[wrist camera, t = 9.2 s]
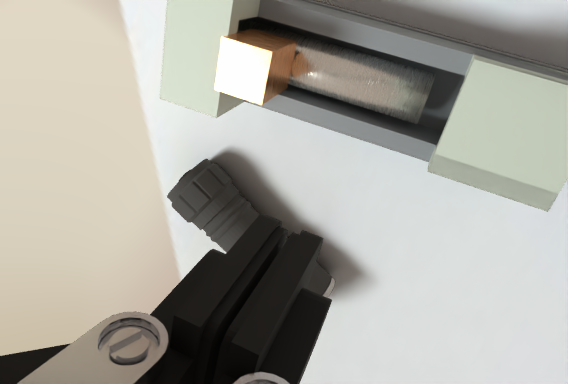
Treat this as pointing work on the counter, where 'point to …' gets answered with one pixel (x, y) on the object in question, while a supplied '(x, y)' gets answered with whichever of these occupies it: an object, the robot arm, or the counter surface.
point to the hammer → (316, 72)
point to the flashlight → (225, 212)
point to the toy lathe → (383, 128)
